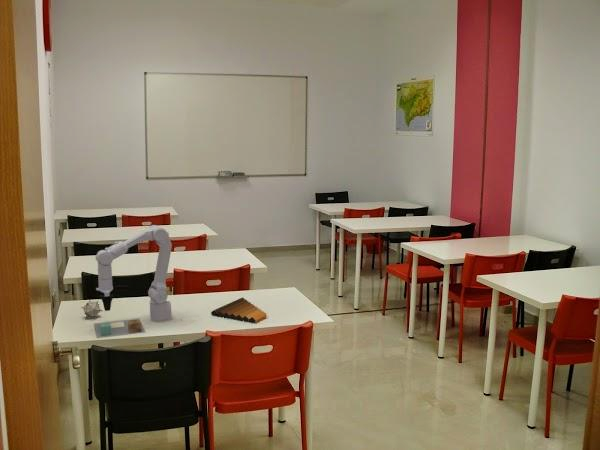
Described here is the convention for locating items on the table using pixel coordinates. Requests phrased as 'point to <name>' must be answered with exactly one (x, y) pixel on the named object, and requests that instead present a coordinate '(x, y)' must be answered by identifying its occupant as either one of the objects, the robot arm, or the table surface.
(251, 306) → the pan flute
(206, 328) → the table surface
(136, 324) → the walnut block
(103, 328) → the teal block
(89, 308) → the grey spiky ball
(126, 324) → the board
